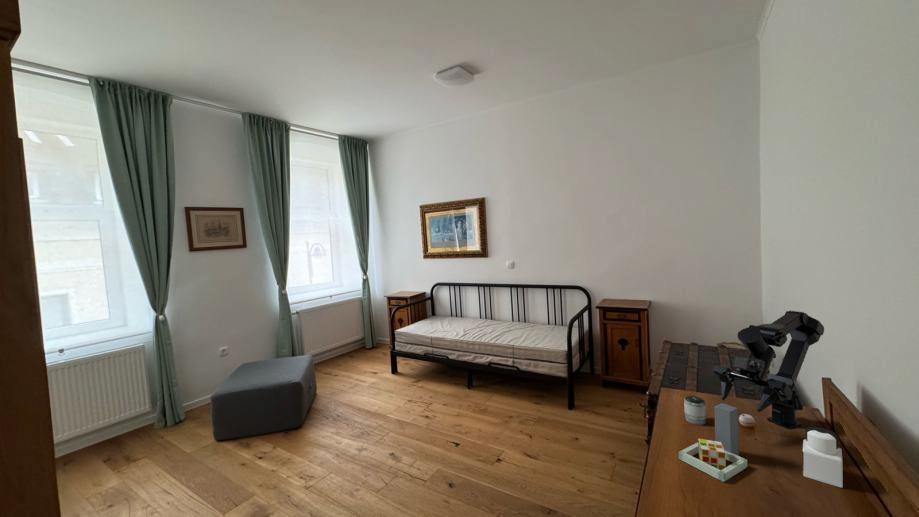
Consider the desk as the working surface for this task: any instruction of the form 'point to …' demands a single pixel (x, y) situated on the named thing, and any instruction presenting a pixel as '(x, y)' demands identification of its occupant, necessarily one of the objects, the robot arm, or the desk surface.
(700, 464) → the grey block with frame
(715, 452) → the rubik's cube
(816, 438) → the medicine bottle
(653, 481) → the desk surface
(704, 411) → the camera lens
